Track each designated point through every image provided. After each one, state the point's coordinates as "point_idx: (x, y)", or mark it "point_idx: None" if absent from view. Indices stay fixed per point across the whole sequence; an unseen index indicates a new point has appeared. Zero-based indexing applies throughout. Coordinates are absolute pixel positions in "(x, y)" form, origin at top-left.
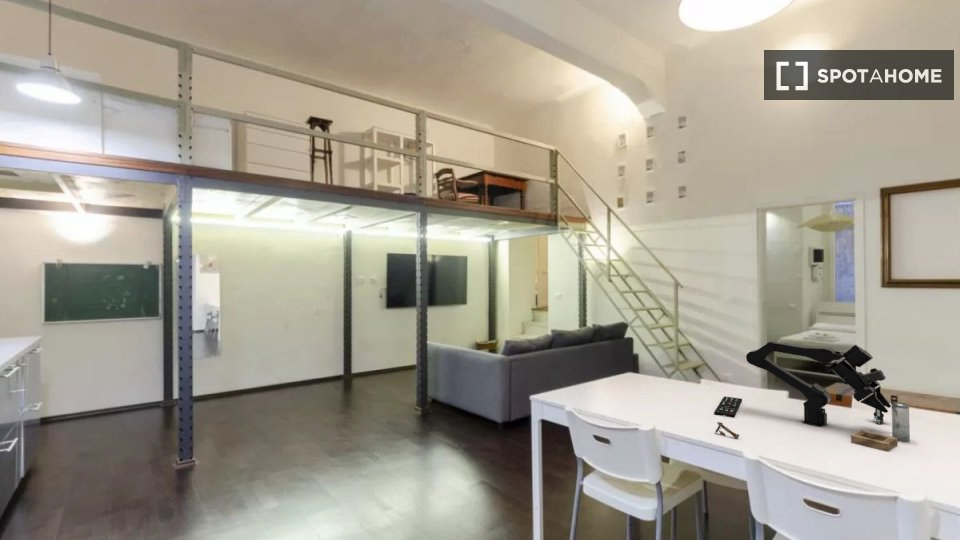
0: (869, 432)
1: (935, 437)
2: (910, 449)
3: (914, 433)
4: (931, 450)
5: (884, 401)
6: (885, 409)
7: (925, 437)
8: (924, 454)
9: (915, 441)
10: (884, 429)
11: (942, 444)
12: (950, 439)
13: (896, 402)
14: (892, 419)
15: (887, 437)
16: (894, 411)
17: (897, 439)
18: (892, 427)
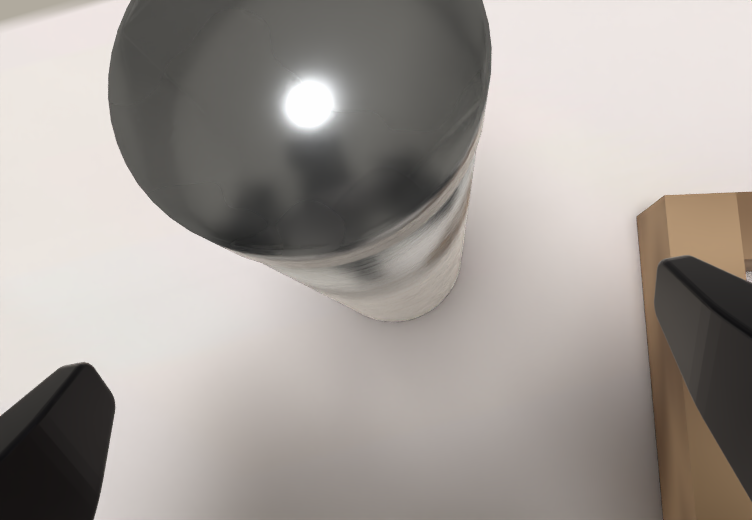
0: (720, 470)
1: (34, 110)
2: (662, 112)
3: (36, 249)
4: (514, 10)
5: (22, 505)
6: (734, 291)
7: (103, 156)
8: (714, 2)
9: None
10: (109, 468)
11: None
12: (5, 30)
13: (199, 169)
14: (422, 281)
15: (742, 269)
16: (459, 204)
17: (658, 200)
18: (421, 299)
